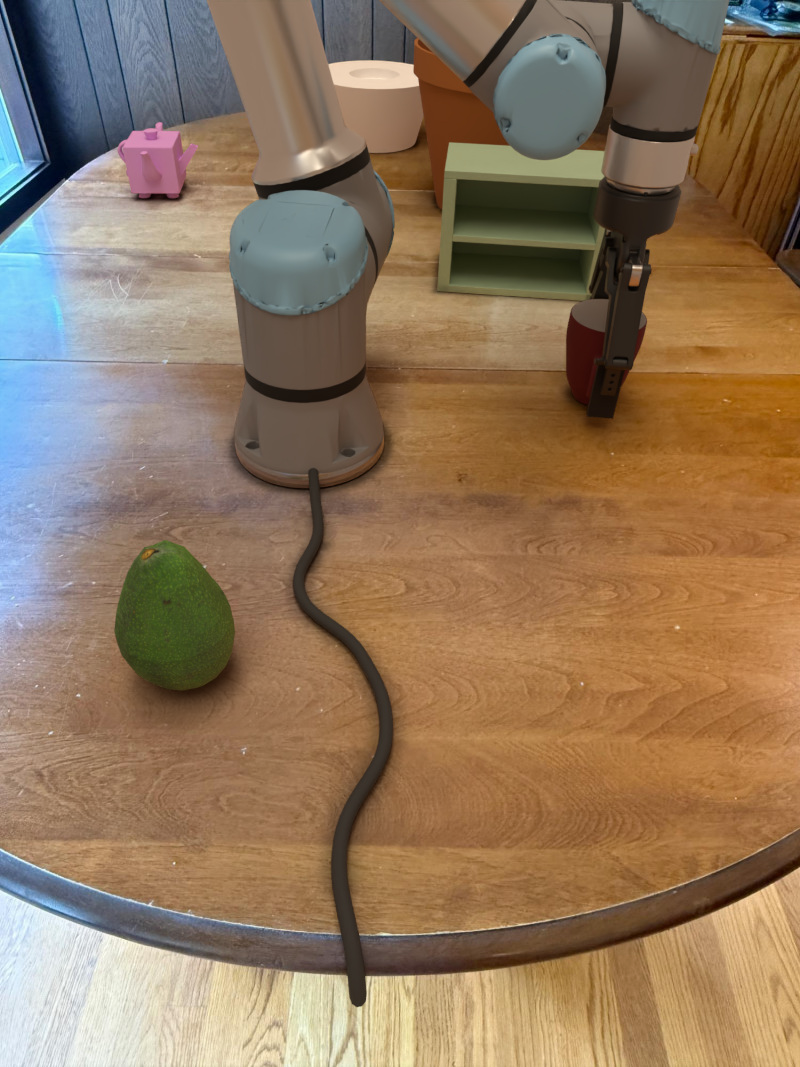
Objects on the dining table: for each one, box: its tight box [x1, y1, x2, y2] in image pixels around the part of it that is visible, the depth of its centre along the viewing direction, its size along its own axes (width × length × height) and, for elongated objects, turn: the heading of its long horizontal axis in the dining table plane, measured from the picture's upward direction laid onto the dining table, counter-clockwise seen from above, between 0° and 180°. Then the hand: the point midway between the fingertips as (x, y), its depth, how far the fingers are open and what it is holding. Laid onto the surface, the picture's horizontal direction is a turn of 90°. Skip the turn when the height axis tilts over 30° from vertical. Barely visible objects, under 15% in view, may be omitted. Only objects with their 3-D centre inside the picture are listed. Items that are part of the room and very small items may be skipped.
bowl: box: [328, 59, 424, 154], centre depth 156 cm, size 24×24×12 cm
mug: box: [565, 299, 648, 406], centre depth 84 cm, size 10×8×10 cm
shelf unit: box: [436, 142, 605, 302], centre depth 106 cm, size 12×22×16 cm, turn 85°
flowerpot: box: [413, 37, 510, 210], centre depth 126 cm, size 28×28×24 cm
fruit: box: [113, 539, 236, 691], centre depth 54 cm, size 8×8×12 cm
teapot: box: [117, 121, 199, 199], centre depth 130 cm, size 18×13×10 cm
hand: (594, 387), depth 86 cm, fingers closed on mug, 10 cm apart
